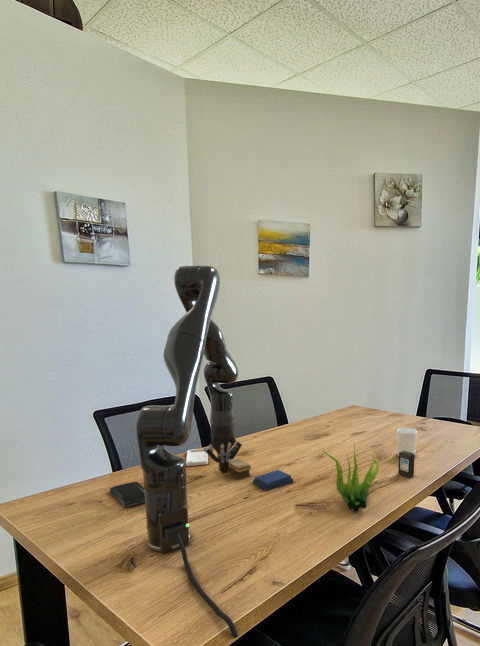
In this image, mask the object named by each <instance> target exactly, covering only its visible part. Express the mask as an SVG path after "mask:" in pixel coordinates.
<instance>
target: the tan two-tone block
mask: <svg viewBox="0 0 480 646" xmlns="http://www.w3.org/2000/svg"><path fill="white" fill-rule="evenodd" d="M251 469H252V468H251V464H249V463H247V462H246V461H244V460H242V459H240V458H239V457H237V456H235V457H234V459H231V460H229V470H228V471H227V473H229V474H230V475H232V476H233V477H235V478H236V479H238V480H241V479H244V478H248V477H250V475H251V474H250V473H251V472H250V470H251Z"/></svg>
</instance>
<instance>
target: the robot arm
mask: <svg viewBox="0 0 480 646" xmlns="http://www.w3.org/2000/svg"><path fill="white" fill-rule="evenodd" d="M173 280H174V281H173V282H174V288H175V291H176V293H177V296H178V299H179V300H180V302H181V305H182V306H183V308H184V310H185V314H184V315H183V316H182V317H180V318H179V319H178V321H176V322H175V324H173V326H172V327H171V328H170V330H169V331H168V334H167V338H166V340H165V341H166V342H165V346H164V349H163V355H162V356H163V361H164V364H165V368H166V369H167V371H168V373H169V375H170V378H171V379H172V382H173V384H174V387H175V399H174V403H173V405H146V406H143V407H142V408H141V409H140V410H139V412H138V413H137V417H136V421H135V434H136V435H135V436H136V442H137V449H138V456H139V457H138V458H139V465H140V467H141V470H142V476H143V488H144V493H145V502H144V505H145V517H146V532H147V546H148V547H147V548H148V549H150V550H152V551H154V552H160V553H161V554H165V553H168V552H169V553H170V552H173V551H175V550H177V549H180V553H181V557H182V561H183V564H184V567H185V571H186V574H187V576H188V578H189V580H190V582H191V584H192V586H193V587H194V589H195V590H196V592H197V593H198V595H199V596H200V597H201V598H202V600H204V601H205V603H206V604H207V605H208V606H209V607H210V608H211V609H212V610H213V612H214V613H215V614H216V615H217V616H218V617H219V618H221V620H222V621H224V622H225V623H226V625H227V626H228V628H229V630H230V633H231V636H232V637H233V639H234V638H235V639H237V638H238V637H239V634H238V631H237V627H236V625H235V624H234V622H233V620H232V619H231V618H230V616H228V615H227V614H226V613H225V612H224V611H222V610H221V609H220V608H219V606H218V605H217V604H216V603H215V602H214V601H213V600H212V599H211V598H210V597H209V596H208V594H207V593H206V591H204V589H203V588H202V587H201V585H200V584H199V582H198V581H197V579H196V577H195V575H194V573H193V570H192V568H191V565H190V562H189V558H188V554H187V551H186V546H189V545H190V540H191V532H190V520H189V503H188V500H189V499H188V485H187V466H186V460H185V459H184V458H183V457H181V456H180V455H178V454H175V453H173V452H171V451H169V450H168V449H166V447H182V446H184V445H185V444H186V443H187V441H188V439H189V436H190V433H191V429H192V422H193V415H194V406H195V398H196V389H197V384H198V379H199V375H200V370H201V367H202V362H203V359H204V358H205V359H206V361H208V362H207V363H206V364H205V365H204V367H203V377H204V381H205V384H206V387H207V390H208V392H209V397H210V398H209V399H210V415H209V417H210V420H209V423H210V438H211V439H210V441H209V445H208V447H204V448H203V451H205V452H206V453H207V454H208V457H210V459H211V460H212V461H214V462H215V463H218V471H219V472H220V473H221V474H223V475H224V474H227V473H228V472H227V471H228V470H229V460H231V459H234V457H237V456H236V455H237V454H238V452H239V451H240V449H241V448H242V446H243V443H241V442H240V441H237V438H236V436H235V433H236V431H235V430H236V429H235V412H234V395H233V392H232V391H231V390H228V389H224V388H222V387H221V385H220V384H228V385H229V384H233V383H235V382H236V381H237V380H238V377H239V368H238V366H237V363H236V362H235V360H234V359H233V357H232V355H231V354H230V352H229V350H228V349H227V346H226V345H227V344H226V342H225V339H224V335H223V332H222V330H221V329H220V327H219V326H218V324H216V322H214V320H212V316H213V313H214V310H215V306H216V303H217V300H218V298H219V294H220V288H221V277H220V273H219V271H218V269H217V268H216V267H214V266H212V265H181V266H179V267H177V268H176V269H175V272H174V277H173ZM214 451H215V452H216V454H215V453H214Z"/></svg>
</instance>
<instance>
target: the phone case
mask: <svg viewBox="0 0 480 646" xmlns="http://www.w3.org/2000/svg"><path fill="white" fill-rule="evenodd" d="M185 464H186V467H195V466H204V465H208V464H209V455H208V454H207V453H206V452H205V451H204V450H203V448H194V449H188V450H187V451H186V460H185Z"/></svg>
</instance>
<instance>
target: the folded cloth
mask: <svg viewBox="0 0 480 646" xmlns="http://www.w3.org/2000/svg"><path fill="white" fill-rule="evenodd" d="M252 482H253V484H255V485H256V486H258V487H259V488H261V489H262V490H265V491H268V490H272V489H275V488H280V487H283V486H286V485H289V484H292V483H294V478H293V477H292V475H291V474H288V473H286V472H285V471H283V470H280V469H276V470H273V471H269V472H266V473H263V474H260V475H259V474H258V475H257V476H254V478H253V479H252Z"/></svg>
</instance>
